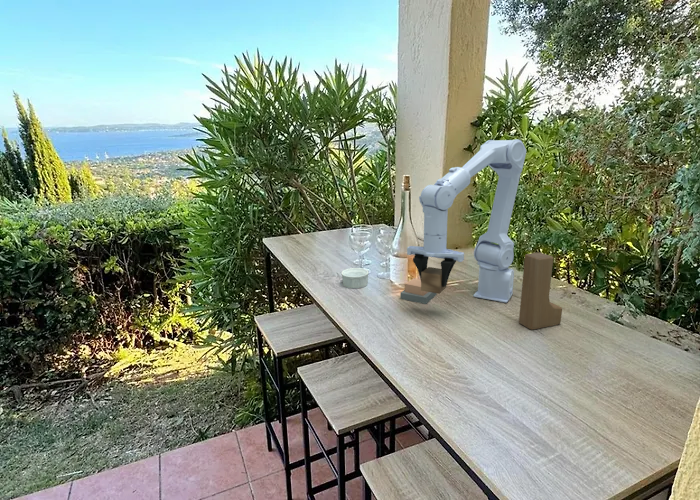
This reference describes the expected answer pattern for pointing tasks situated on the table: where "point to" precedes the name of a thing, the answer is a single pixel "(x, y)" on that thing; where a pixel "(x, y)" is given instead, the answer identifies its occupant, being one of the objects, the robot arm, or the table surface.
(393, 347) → the table surface
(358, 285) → the ramekin
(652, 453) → the table surface
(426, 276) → the walnut cube
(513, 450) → the table surface
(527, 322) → the wooden block
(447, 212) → the robot arm
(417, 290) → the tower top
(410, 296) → the tower base
